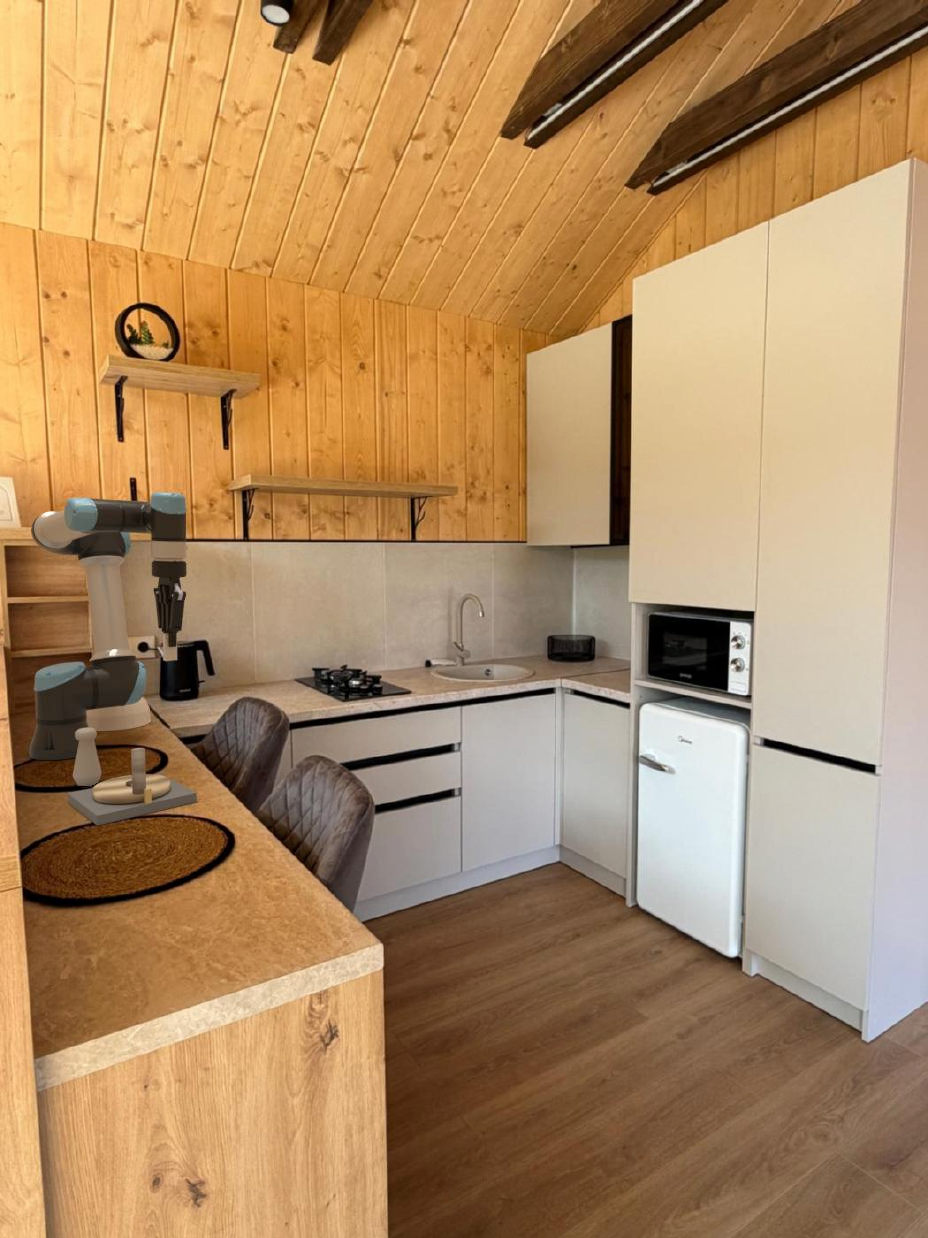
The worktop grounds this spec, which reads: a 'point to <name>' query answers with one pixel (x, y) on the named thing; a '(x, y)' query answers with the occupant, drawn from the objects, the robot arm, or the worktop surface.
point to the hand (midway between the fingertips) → (170, 660)
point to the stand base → (130, 804)
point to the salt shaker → (86, 758)
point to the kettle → (119, 717)
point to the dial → (131, 783)
